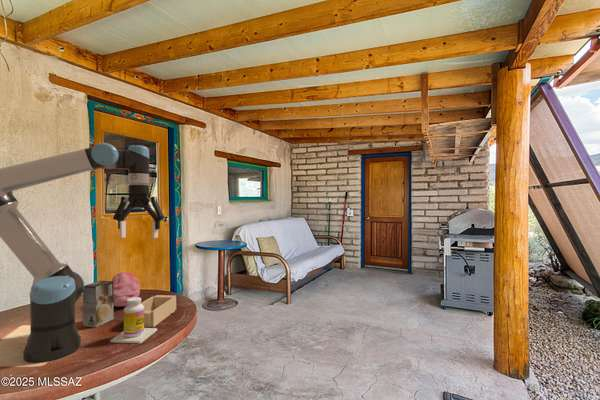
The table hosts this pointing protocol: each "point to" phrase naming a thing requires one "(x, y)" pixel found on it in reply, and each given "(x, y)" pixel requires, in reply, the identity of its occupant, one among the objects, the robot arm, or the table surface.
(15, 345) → the table surface
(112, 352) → the table surface
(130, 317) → the supplement bottle
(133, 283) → the decorative rock
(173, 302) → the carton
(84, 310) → the coffee box
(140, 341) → the plate
